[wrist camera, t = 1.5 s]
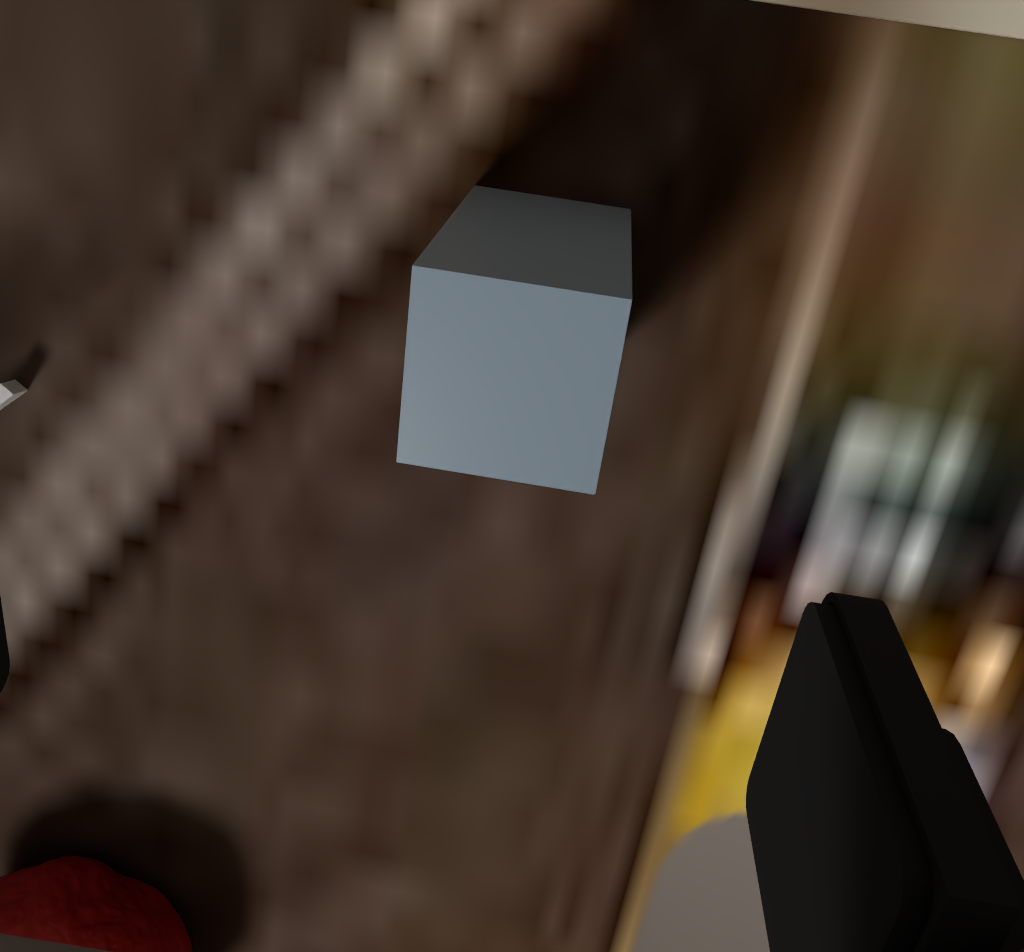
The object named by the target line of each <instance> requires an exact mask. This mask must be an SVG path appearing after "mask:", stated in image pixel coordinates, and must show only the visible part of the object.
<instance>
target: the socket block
mask: <svg viewBox="0 0 1024 952" xmlns="http://www.w3.org/2000/svg"><path fill="white" fill-rule="evenodd" d="M751 1H758V2H765V3H772V4H779V5H786V6H793V7H800V8H807V9H814V10H821V11H828V12H835V13H842V14H849V15H856V16H863V17H870V18H877V19H884V20H891V21H898V22H905V23H912V24H919V25H926V26H933V27H940V28H947V29H953V30H960V31H967V32H974V33H981V34H988V35H995V36H1002V37H1009V38H1016V39H1023V40H1024V0H751Z"/></svg>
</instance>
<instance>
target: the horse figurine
mask: <svg viewBox="0 0 1024 952" xmlns="http://www.w3.org/2000/svg"><path fill="white" fill-rule="evenodd" d="M26 391H27V389H26V388H25V387H24V386H22V385H21V384H20V383H19V382H18V381H16V380H12V381H8V382H4V383H0V410H1V409H3V408H4V407H5V406H7V405H8V404H10V403H11V402H13V401H14V400H15V399H17V398H18V397H20V396H21V395H23V394H24V393H25V392H26Z"/></svg>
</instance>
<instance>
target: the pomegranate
mask: <svg viewBox="0 0 1024 952" xmlns="http://www.w3.org/2000/svg"><path fill="white" fill-rule="evenodd" d="M0 934H6V935H12V936H19V937H25V938H31V939H37V940H43V941H49V942H56V943H62V944H68V945H74V946H80V947H86V948H93V949H99V950H105V951H111V952H192V945H191V941H190V938H189V936H188V932H187V930H186V928H185V925H184V922H183V920H182V919H181V917H180V916H179V914H178V913H177V912H176V911H175V909H174V907H173V906H172V904H171V903H170V901H169V900H168V899H167V898H166V897H165V896H164V895H163V894H162V893H161V892H160V891H159V890H158V889H156V888H155V887H153V886H151V885H149V884H146V883H145V882H143V881H141V880H137V879H134V878H131V877H126V876H124V875H122V874H119V873H118V872H116V871H114V870H113V869H111V868H110V867H109V866H108V865H107V864H106V863H103V862H101V861H98V860H96V859H94V858H90V857H79V856H63V857H61V858H58V859H52V860H49V861H47V862H45V863H42V864H40V865H36V866H32V867H27V868H24V869H22V870H19V871H16V872H13V873H10V874H8V875H5V876H2V877H0Z"/></svg>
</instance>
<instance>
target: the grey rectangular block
mask: <svg viewBox="0 0 1024 952" xmlns="http://www.w3.org/2000/svg"><path fill="white" fill-rule="evenodd" d="M631 304H632V244H631V209H627V208H620V207H614V206H607V205H601V204H594V203H587V202H581V201H574V200H568V199H561V198H555V197H548V196H542V195H535V194H528V193H522V192H515V191H509V190H502V189H496V188H489V187H483V186H476V185H475V186H474V187H473V188H472V190H471V191H470V192H469V194H468V195H467V196H466V197H465V199H464V200H463V201H462V203H461V204H460V205H459V206H458V208H457V209H456V210H455V212H454V213H453V214H452V215H451V217H450V218H449V219H448V221H447V222H446V223H445V224H444V226H443V227H442V228H441V229H440V231H439V232H438V233H437V235H436V236H435V237H434V238H433V240H432V241H431V242H430V244H429V245H428V246H427V247H426V249H425V250H424V251H423V253H422V254H421V255H420V256H419V258H418V259H417V260H416V262H415V263H414V264H413V265H412V277H411V289H410V301H409V314H408V326H407V338H406V351H405V363H404V375H403V388H402V400H401V412H400V425H399V437H398V450H397V462H399V463H405V464H412V465H418V466H424V467H430V468H436V469H442V470H448V471H454V472H460V473H466V474H473V475H479V476H485V477H491V478H497V479H503V480H509V481H515V482H521V483H527V484H534V485H540V486H546V487H552V488H558V489H564V490H570V491H576V492H582V493H588V494H594V495H595V492H596V487H597V482H598V476H599V471H600V466H601V461H602V456H603V450H604V445H605V440H606V435H607V429H608V424H609V419H610V414H611V408H612V403H613V398H614V393H615V387H616V382H617V377H618V372H619V366H620V361H621V356H622V351H623V346H624V340H625V335H626V330H627V325H628V319H629V314H630V309H631Z"/></svg>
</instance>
